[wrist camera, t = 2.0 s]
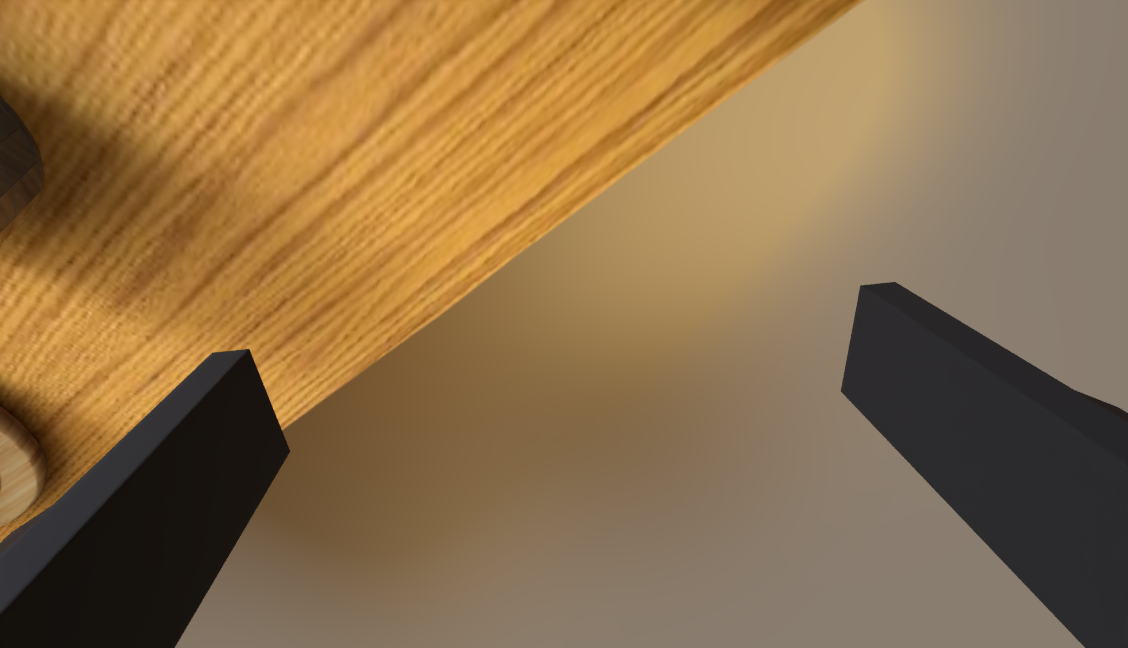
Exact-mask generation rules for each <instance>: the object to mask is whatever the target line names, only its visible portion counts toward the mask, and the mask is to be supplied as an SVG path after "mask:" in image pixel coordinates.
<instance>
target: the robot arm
mask: <svg viewBox="0 0 1128 648" xmlns="http://www.w3.org/2000/svg"><path fill="white" fill-rule="evenodd" d="M841 392H842V393H843V394H844V395H845V396H846V397H847V398H848V399H849V400H850V401H851V402H852V404H854V406H855V407H856V408H857V409H858V410H859V411H860V412H861V413H862V414H863V415H864V416H865V417H866V418H867V419H868V420H869V421H870V422H871V423H872V424H873V426H874V427H875V428H876V429H877V430H878V431H879V432H880V433H881V434H882V435H883V436H884V437H885V438H886V439H887V440H888V441H889V442H890V443H891V444H892V446H893V447H895V449H896V450H897V451H898V452H899V453H900V454H901V455H902V456H903V457H904V458H905V459H906V460H907V461H908V462H909V463H910V464H911V465H912V467H914V468H915V470H916V471H917V472H918V473H919V474H920V475H921V476H922V477H923V478H924V479H925V480H926V481H927V482H928V483H929V484H930V485H931V486H932V487H933V488H934V489H935V491H936V492H937V493H938V494H939V495H940V496H941V497H942V498H943V499H944V500H945V501H946V502H947V503H948V504H949V505H950V506H951V507H952V508H953V510H954V511H955V512H956V513H957V514H958V515H959V516H960V517H961V518H962V519H963V520H964V521H965V522H966V523H967V524H968V525H969V526H970V527H971V528H972V529H973V530H974V532H975V533H976V534H977V535H978V536H979V537H980V538H981V539H982V540H983V541H984V542H985V543H986V544H987V545H988V546H989V547H990V548H991V549H992V550H993V551H994V553H995V554H996V555H997V556H998V557H999V558H1000V559H1001V560H1002V561H1003V562H1004V563H1005V564H1006V565H1007V566H1008V567H1009V568H1010V569H1011V570H1012V571H1013V572H1014V573H1015V574H1016V575H1017V577H1018V578H1019V579H1020V580H1021V581H1022V582H1023V583H1024V584H1025V585H1026V586H1027V587H1028V588H1029V589H1030V590H1031V591H1032V592H1033V593H1034V594H1035V596H1036V597H1037V598H1038V599H1039V600H1040V601H1041V602H1042V603H1043V604H1044V605H1045V606H1046V607H1047V608H1048V609H1049V610H1050V611H1051V612H1052V613H1053V614H1054V615H1055V617H1056V618H1057V619H1058V620H1059V621H1060V622H1061V623H1062V624H1063V625H1064V626H1065V627H1066V628H1067V629H1068V630H1069V631H1070V632H1071V633H1072V634H1073V635H1074V636H1075V638H1076V639H1077V640H1078V641H1079V642H1080V643H1081V644H1082V645H1083V646H1084V647H1085V648H1128V413H1127V412H1125V411H1123V410H1121V409H1120V408H1118V407H1116V406H1113V405H1111V404H1108V403H1106V402H1103V401H1101V400H1098V399H1096V398H1093V397H1091V396H1088V395H1085V394H1083V393H1080V392H1077V391H1075V390H1073V389H1071V388H1070V387H1068V386H1067V385H1065V384H1063V383H1062V382H1060V381H1058V380H1057V379H1055V378H1053V377H1052V376H1050V375H1048V374H1047V373H1045V372H1043V371H1042V370H1040V369H1038V368H1037V367H1035V366H1033V365H1032V364H1030V363H1028V362H1027V361H1025V360H1023V359H1022V358H1020V357H1018V356H1017V355H1015V354H1013V353H1012V352H1010V351H1009V350H1007V349H1005V348H1003V347H1002V346H1000V345H999V344H997V343H995V342H994V341H992V340H990V339H989V338H987V337H985V336H983V335H982V334H980V333H979V332H977V331H975V330H974V329H972V328H970V327H969V326H967V325H965V324H964V323H962V322H960V321H959V320H957V319H955V318H954V317H952V316H950V315H949V314H947V313H946V312H944V311H942V310H941V309H939V308H937V307H935V306H934V305H932V304H931V303H929V302H927V301H926V300H924V299H922V298H921V297H919V296H917V295H916V294H914V293H912V292H911V291H909V290H907V289H906V288H904V287H902V286H901V285H899V284H897V283H896V282H890V283H881V284H873V285H872V284H871V285H863V286H862V285H861V286H860V291H859V296H858V302H857V307H856V312H855V318H854V323H853V329H852V334H851V339H850V345H849V350H848V356H847V361H846V366H845V372H844V377H843V383H842V388H841ZM289 452H290V450H289V447H288V445H287V442H286V440H285V437H284V435H283V432H282V430H281V427H280V425H279V422H278V420H277V417H276V415H275V412H274V410H273V407H272V405H271V402H270V400H269V397H268V395H267V392H266V390H265V387H264V385H263V382H262V380H261V377H260V375H259V372H258V370H257V367H256V365H255V362H254V360H253V357H252V355H251V352H250V350H249V349H245V350H235V351H225V352H216V353H212V354H211V355H210V356H209V357H207V358H206V359H205V360H204V361H203V362H202V363H201V364H200V365H199V366H198V367H197V368H196V369H195V370H194V371H193V372H192V373H191V374H190V375H189V376H188V377H187V378H185V379H184V380H183V381H182V382H181V383H180V384H179V385H178V386H177V387H176V388H175V389H174V390H173V391H172V392H171V393H170V394H169V395H168V396H167V397H166V398H165V399H163V400H162V401H161V402H160V403H159V404H158V405H157V406H156V407H155V408H154V409H153V410H152V411H151V412H150V413H149V414H148V415H147V416H146V417H145V418H144V419H142V420H141V421H140V422H139V423H138V424H137V425H136V426H135V427H134V428H133V429H132V430H131V431H130V432H129V433H128V434H127V435H126V436H125V437H124V438H123V439H122V440H120V441H119V442H118V443H117V444H116V445H115V446H114V447H113V448H112V449H111V450H110V451H109V452H108V453H107V454H106V455H105V456H104V457H103V458H102V459H101V460H100V461H98V462H97V463H96V464H95V465H94V466H93V467H92V468H91V469H90V470H89V471H88V472H87V473H86V474H85V475H84V476H83V477H82V478H81V479H80V480H79V481H78V482H76V483H75V484H74V485H73V486H72V487H71V488H70V489H69V490H68V491H67V492H66V493H65V494H64V495H63V496H62V497H61V498H60V499H59V500H58V501H57V502H56V503H54V504H53V505H52V506H51V507H49V508H48V509H46V510H45V511H43V512H42V513H40V514H39V515H37V516H36V517H34V518H33V519H31V520H30V521H28V522H27V523H25V524H24V525H22V526H21V527H19V528H18V529H16V530H15V531H13V532H12V533H11V534H9V535H8V536H7V537H6V538H5V539H4V540H3V541H2V542H1V543H0V648H175V646H176V644H177V643H178V641H179V639H180V638H181V636H182V634H183V633H184V631H185V629H186V627H187V626H188V624H189V622H190V621H191V619H192V617H193V615H194V614H195V612H196V610H197V609H198V607H199V605H200V604H201V602H202V600H203V598H204V597H205V595H206V593H207V592H208V590H209V588H210V587H211V585H212V583H213V581H214V580H215V578H216V576H217V575H218V573H219V571H220V570H221V568H222V566H223V564H224V563H225V561H226V559H227V558H228V556H229V554H230V553H231V551H232V549H233V548H234V546H235V544H236V542H237V541H238V539H239V537H240V536H241V534H242V532H243V531H244V529H245V527H246V526H247V524H248V522H249V520H250V519H251V517H252V515H253V514H254V512H255V510H256V508H257V507H258V505H259V503H260V502H261V500H262V498H263V497H264V495H265V493H266V492H267V490H268V488H269V486H270V485H271V483H272V481H273V480H274V478H275V476H276V475H277V473H278V471H279V469H280V468H281V466H282V464H283V463H284V461H285V459H286V458H287V455H288V454H289Z"/></svg>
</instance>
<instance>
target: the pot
mask: <svg viewBox="0 0 1128 648" xmlns="http://www.w3.org/2000/svg"><path fill="white" fill-rule="evenodd" d="M43 186H44V170H43V163H42V160H41V156H40V153H39V150H38V148H37V146H36V144H35V142H34V140H33V138H32V136H31V134H30V133H29V131H28V129H27V128H26V126H25V125H24V123H23V122H22V121H21V119H20V118H19V117H18V115H17V114H16V113H15V112H14V110H13V109H12V108H11V107H10V106H9V105H8V104H7V103H6V102H5V100H4V99H3V98H2V97H1V96H0V245H1V244H2V243H3V242H4V240H5V239H6V238H7V237H8V236H9V235H10V234H11V233H12V232H13V231H14V230H15V229H16V228H17V227H18V226H19V225H20V224H21V223H22V221H23V220H24V219H25V218H26V217H27V216H28V215H29V214H30V213H31V211H32V209H33V207H34V206H35V205H36V203H37V202H38V200H39V198H40V196H41V193H42V190H43Z"/></svg>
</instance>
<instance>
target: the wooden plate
mask: <svg viewBox="0 0 1128 648" xmlns="http://www.w3.org/2000/svg"><path fill="white" fill-rule="evenodd" d="M46 480H47V465H46V460H45V457H44V454H43V451H42V450H41V448H40V446H39V444H38V442H37V441H36V440H35V438H34V437H33V436H32V435H31V433H30V432H29V431H28V430H27V429H26V428H25V427H24V426H23V425H22V424H21V423H20V422H19V421H18V420H17V419H16V418H15V417H14V416H12V415H11V414H10V413H8V412H7V411H6V410H5V409H3V408H2V407H0V527H1V526H4V525H6V524H8V523H9V522H11V521H13V520H15V519H16V518H18V517H19V516H21V515H22V514H23V513H24V512H26V511H27V510H28V509H29V508H30V507H31V506H32V505H33V504H34V503H35V502H36V500H37V499H38V498H39V496H40V495H41V493H42V491H43V490H44V487H45V484H46Z"/></svg>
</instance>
